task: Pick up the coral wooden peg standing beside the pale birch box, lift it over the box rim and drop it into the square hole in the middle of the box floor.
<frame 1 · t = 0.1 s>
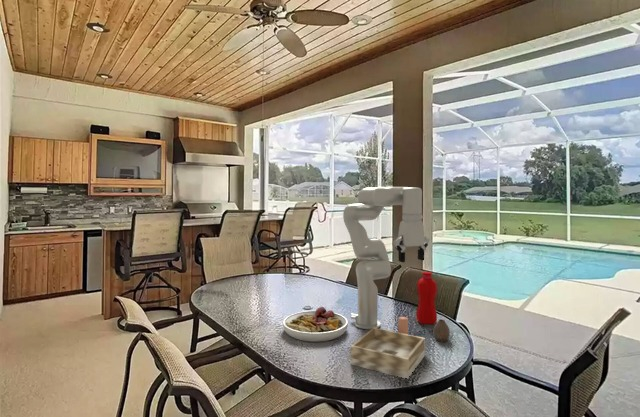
hand: (411, 260, 151), 37 cm above the table, tool pointing down, fingers open, 9 cm apart
water bottle: (426, 321, 187), on the table
bowl: (315, 331, 175), on the table
insert box: (388, 359, 145), on the table
peg: (402, 341, 163), on the table
vase: (441, 340, 164), on the table
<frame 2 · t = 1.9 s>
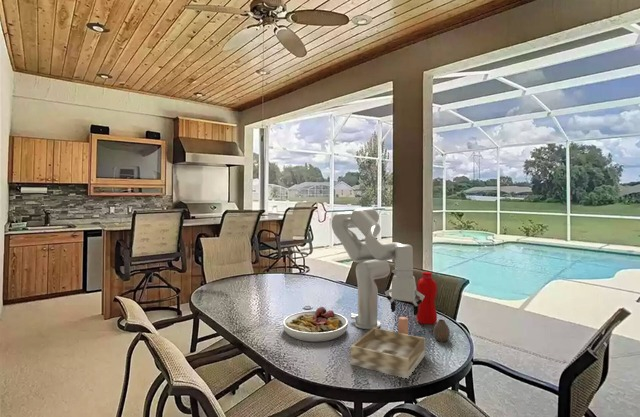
hand: (404, 312, 162), 13 cm above the table, tool pointing down, fingers open, 9 cm apart
nothing on the table moved.
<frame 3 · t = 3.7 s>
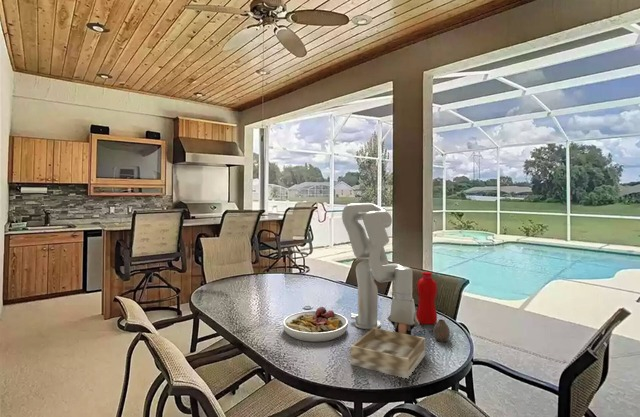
hand: (402, 337, 163), 2 cm above the table, tool pointing down, fingers closed on peg, 4 cm apart
peg: (402, 341, 163), on the table, touching gripper
everything else where it was.
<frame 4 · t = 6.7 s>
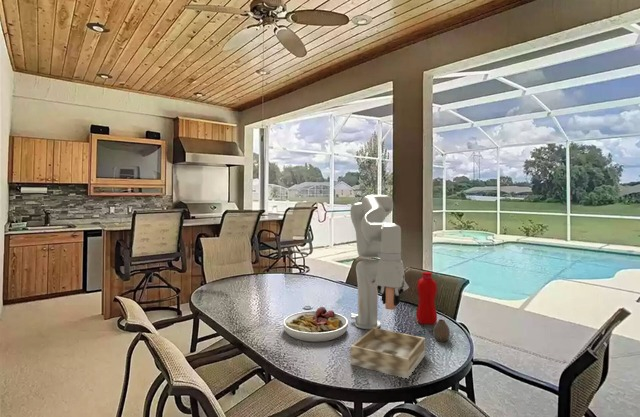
hand: (390, 303, 145), 22 cm above the table, tool pointing down, fingers closed on peg, 4 cm apart
peg: (390, 308, 145), point 20 cm above the table, touching gripper
everything else where it was.
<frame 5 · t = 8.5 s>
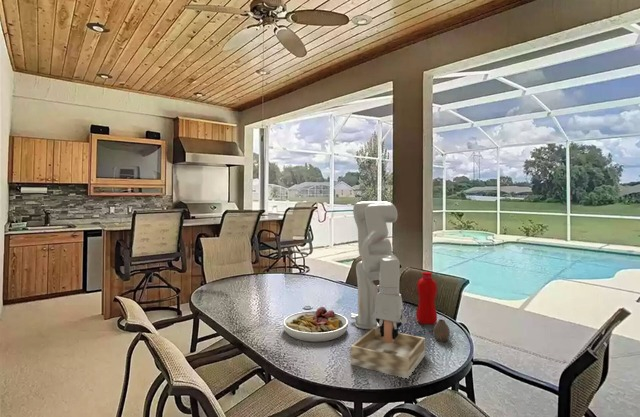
hand: (388, 336, 145), 9 cm above the table, tool pointing down, fingers closed on peg, 4 cm apart
peg: (388, 340, 145), point 7 cm above the table, touching gripper
everything else where it was.
when the fingers open (4 cm above the table, at t = 10.0 s): peg drops 2 cm, resting in insert box.
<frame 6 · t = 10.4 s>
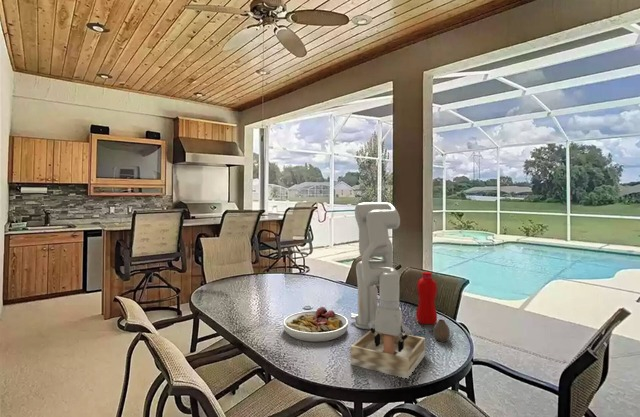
hand: (388, 347, 145), 5 cm above the table, tool pointing down, fingers open, 8 cm apart
peg: (388, 359, 145), resting in insert box
everything else where it was.
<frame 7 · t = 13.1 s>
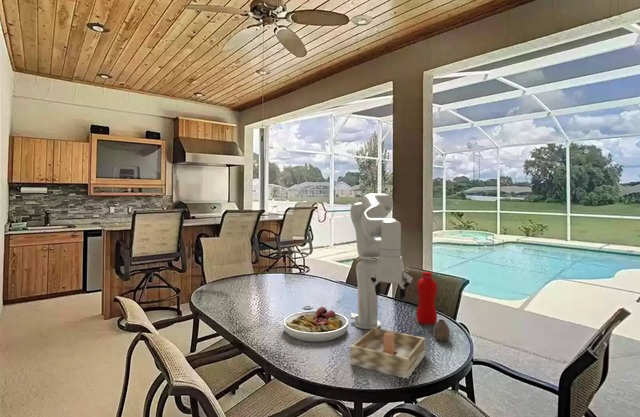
hand: (390, 296, 145), 24 cm above the table, tool pointing down, fingers open, 9 cm apart
nothing on the table moved.
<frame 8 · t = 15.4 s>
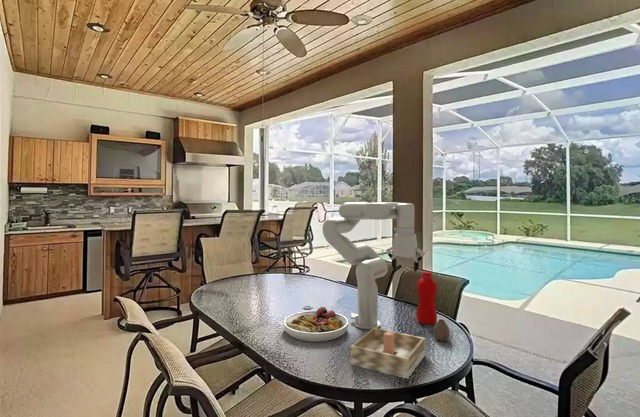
hand: (405, 269, 166), 30 cm above the table, tool pointing down, fingers open, 9 cm apart
nothing on the table moved.
at the end: peg 0.1 cm off-centre on the insert box, point 0.0 cm above the insert box's base; peg tilted 0°; the gripper is holding nothing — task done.
